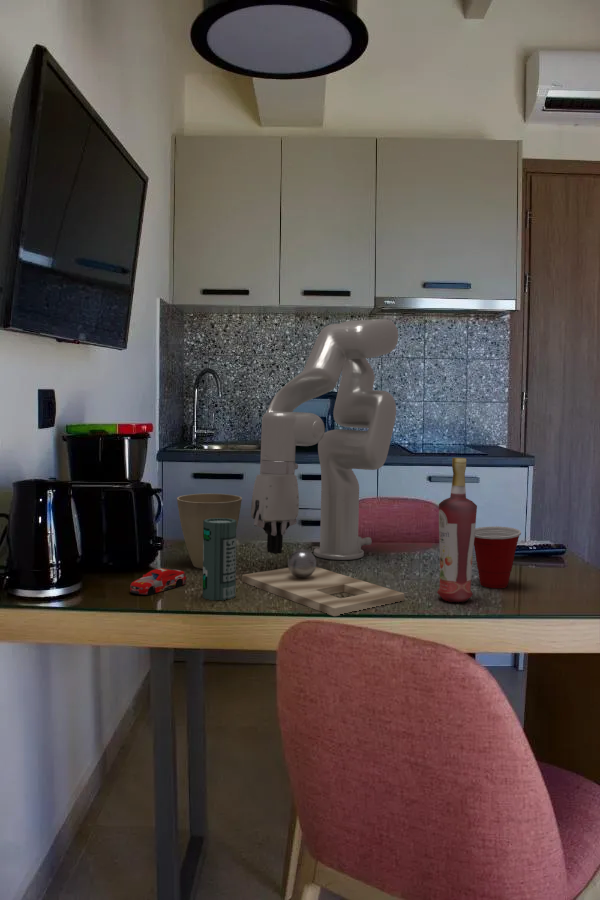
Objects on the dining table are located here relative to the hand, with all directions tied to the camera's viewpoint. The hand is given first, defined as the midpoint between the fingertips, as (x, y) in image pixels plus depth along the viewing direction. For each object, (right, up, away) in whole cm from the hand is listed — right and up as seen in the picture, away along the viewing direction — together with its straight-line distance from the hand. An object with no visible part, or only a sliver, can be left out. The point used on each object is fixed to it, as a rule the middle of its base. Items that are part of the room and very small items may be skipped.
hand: (274, 552), depth 158 cm
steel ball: (+6, -2, -6) cm, 9 cm away
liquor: (+36, -7, -15) cm, 40 cm away
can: (-10, -7, -16) cm, 20 cm away
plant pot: (-16, -5, +10) cm, 19 cm away
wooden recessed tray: (+10, -6, -11) cm, 16 cm away
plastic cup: (+47, -7, -3) cm, 47 cm away
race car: (-23, -6, -11) cm, 26 cm away
